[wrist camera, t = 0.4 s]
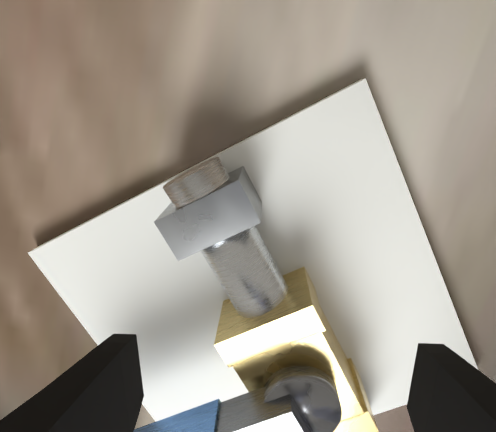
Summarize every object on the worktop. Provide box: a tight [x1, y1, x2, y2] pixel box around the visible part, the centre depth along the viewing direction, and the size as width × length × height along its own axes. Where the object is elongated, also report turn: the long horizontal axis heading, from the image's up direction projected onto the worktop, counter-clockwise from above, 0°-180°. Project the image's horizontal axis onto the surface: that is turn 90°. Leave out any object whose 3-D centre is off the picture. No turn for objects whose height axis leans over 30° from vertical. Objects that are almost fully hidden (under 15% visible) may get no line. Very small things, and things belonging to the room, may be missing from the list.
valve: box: [154, 157, 379, 432], centre depth 18 cm, size 18×5×4 cm, turn 27°
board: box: [28, 78, 478, 421], centre depth 20 cm, size 18×19×1 cm
